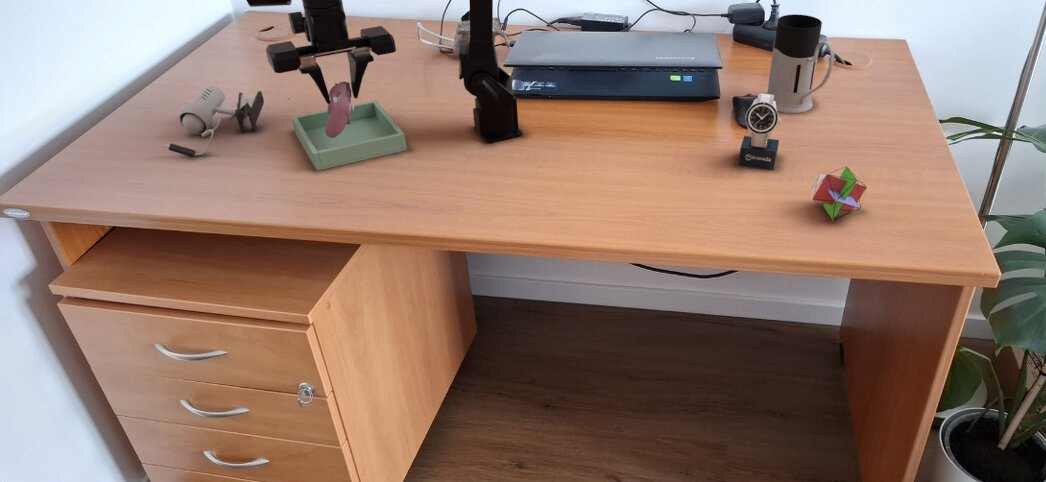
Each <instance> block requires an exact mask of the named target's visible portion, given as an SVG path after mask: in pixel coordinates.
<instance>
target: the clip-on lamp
mask: <svg viewBox="0 0 1046 482" xmlns="http://www.w3.org/2000/svg"><path fill="white" fill-rule="evenodd" d="M225 98H226V96H225V93H224V91H223V90H222V89H221V88H220V87H218V86H217V85H216V86H215V85H208V86H206V87H205V88H204V89H203V90H202V91H201V93H200V94H199V95H198V97H196V98H195V101H193V103H190V104H187V105H185V106H184V107H183V108H182V109H181V110H180V112H179V116H178V119H179V123H180V125H181V126H182V127H183V128H184V129H185V130H186V131H187V132H189V133H192V134H195V135H201V137H202V138H204V137H207V136H209V135H210V139H209V141H208V144H207V146H206V148H205V149H204V150H203V151H202V152H196V150H195V149H191V148H188V147H185V146H181V145H178V144H175V143H172V142H171V143H170V144H163V147H164V148H168V151H170V152H173V153H178V154H181V155H184V156H188V157H191V158H194V157H195V156H201V155H204V154H205V153H206V152H207V150H208V149H209V147H210V145H211V143H212V140H213V137H214V132H216V131H217V130H218V128H220V125H221V121H222V120H223V121H231V120H234V119H235V118H236V122H237V124H238V127H239V130H240V133H245V125H244V121H245V120H246V119H247V118H248V120H249V123H250V126H251V129H252V131H253V132H256V131H257V128H258V125H257V121H258V119H259V117H260V114H261V111H262V109H263V107H264V104H265V99H264V96H263V92H262V91H261V90H258V91H257V94H255V95H253V96H252V97H250V98H247V97H246V96H245V95H244V94H243V92H238V100H237V102H235V105H236V109H233V108H224V107H221V106H222V104H223V103H224V102H225V100H226V99H225ZM216 113H218V114H221V115H229V116H219V117H218V119H217V123H216V126H214V127H213V124H214V116H215V115H216ZM212 127H213V128H212Z"/></svg>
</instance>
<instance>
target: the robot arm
mask: <svg viewBox="0 0 1046 482" xmlns="http://www.w3.org/2000/svg"><path fill="white" fill-rule="evenodd" d="M246 2H247V4H248V6H249V7H251V8H255V7H256V8H257V7H258V8H259V7H279V6H281V7H282V6H291V5H292V3H293V0H246ZM301 2H302V7H303V12H304V16H303V14H302V11H294V12H289V13H287V15H288V20H289V24H290V28H291V32H292V34H293V35H298V34H304V35H305V38H306V41H307V42H308V43H310V45H304V46H298V47H296V46H295V44H294V43H293V41H292V40H289V41H282V42H276V43H271V44H270V43H269V44H268V45H267V46H266V49H265V53H266V57H267V58H266V59H267V62H268V63H269V65H270V67H271V68H272V70H273V72H274V73H275V74H283V73H290V72H295V71H299V72H300V74H301V75H306V74H307V75H309V76H310V78H311V79H312V80H313V82H314V83H315V85H316V87H317V88H318V90H319V92H320V93H321V95H322V98H323V99H324V101H325V103H326V104H327V105H328V104H330V96H329V90H328V87H327V83H326V81H325V78H324V75H323V71H322V68H321V67H320V65H319V64H318V62H317V59H316V58H321V57H326V56H327V57H328V56H332V55H339V54H344V53H346V55H347V59H348V64H349V65H348V66H349V76H350V89H351V93H352V97H353V98H354V99H358V97H359V94H360V90H361V85H362V81H363V78H364V76H365V73H366V70H367V67H368V66H369V63H372V62H374V61H375V57H374V56H373V55H372V54H371V52H372V53H373V54H375V55H377V56H381V55H382V56H383V55H388V54H393V53H395V52H396V51H397V48H396V42H395V39H394V36H393V35H392V34H391V33H390V32H389V31H388V30H387V29H386V28H385V27H383V26H382V25H380V26H378V25H377V26H372V27H367V28H366V27H365V28H361V29H360V36H357V37H351V38H350V36H349V30H348V26H347V17H346V12H345V9H344V4H343V0H301ZM493 6H494V0H469V20H470V33H469V38H468V43H465V42H459V56H458V58H459V63H458V65H459V66H458V79H459V80H460V81H461V80H463V86H464V89H465V90H466V91H467V92H468V93H469V94H470V95H472V96H474V97H475V98H474V105H475V107H473V109H472V114H473V124H474V126H473V129H474V131H475V132H476V133H477V134H478V135H479V136H480V137H481V138H482V139H483V140H484V141H485V142H486V143H489V144H490V143H495V142H499V141H503V140H507V139H512V138H517V137H520V136H523V130H521V129H520V128H519V115H518V101H517V100H518V99H517V97H516V96H515V95H514V88H513V80H512V78H513V77H512V76H511V75H510V74H509V73H508V72H506V71H505V70H504V69H503V68H501V66H500V65H499V61H498V55H497V50H496V45H495V42H494V39H493V18H494V16H493V15H494V7H493Z"/></svg>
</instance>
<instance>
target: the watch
mask: <svg viewBox="0 0 1046 482" xmlns="http://www.w3.org/2000/svg"><path fill="white" fill-rule="evenodd" d="M773 100H774V95H770V94H767V93H758V95H757V98H754V99H753V102H752V104H751V105H750V107H749V108H748V109H747V111H746V113H745V124H746V128H747V133H748V135H744V136H743V138H742V142H741V145H740V149H739V158H738V166H740V167H741V166H742V167H749V168H755V169H765V170H772V171H774V170H775V166H776V162H777V158H778V151H779V144H780V140H779V139H773V138H771V137H772V135H773V132H774V131H775V129H776V127H777V126H778V124H781V123H782V118H780V117H779V113H778V112H779V111H777V109H776V103H775V101H773Z"/></svg>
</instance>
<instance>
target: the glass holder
mask: <svg viewBox="0 0 1046 482" xmlns="http://www.w3.org/2000/svg"><path fill="white" fill-rule="evenodd" d="M822 25H823V21H822V20H821V19H820V18H817V17H815V16H811V15H808V14H807V15H806V14H785V15H782V16H779V17H778V18H777V22H776V30H775V37H774V39H773V44H772V45H773V46H772V53H771V61H770V69H769V78H768V85H767V93H766V94H770V95H774V100H773V101H775V103H776V109H777V112H779V113H786V114H801V113H804V112H807V111H810V110H811V109H812V108H813V107H814V106H813V101H812V94H813V93H815V92H817V91H818V90H819V89H821V88H822V87H824V86H825V84H826V83H827V82H828V80H829V78H830V76H831V74H832V71H833V67H834V63H835V49H834V46H833V45H832V44H831V43H830V42H829V41H820V39H821V33H822V27H823V26H822ZM823 45H825V46H826V47H827V48H828V51H829V55H830V57H829V63H828V68H827V71H826V74H825V76H824V78H823V79H822V81H821V82H820V84H818V86H816V87H814V82H815V76H816V71H817V69H816V68H817V64H818V57H819V53H820V50H821V47H822V46H823Z"/></svg>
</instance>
